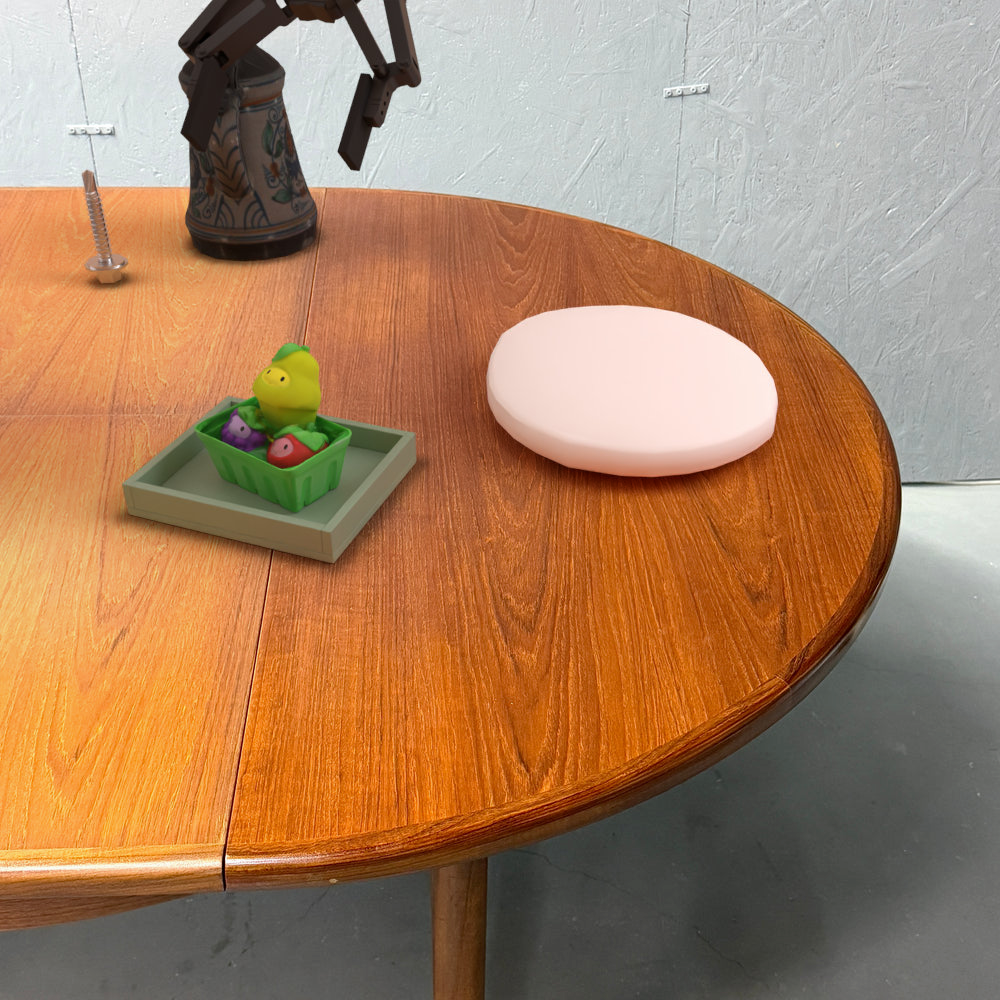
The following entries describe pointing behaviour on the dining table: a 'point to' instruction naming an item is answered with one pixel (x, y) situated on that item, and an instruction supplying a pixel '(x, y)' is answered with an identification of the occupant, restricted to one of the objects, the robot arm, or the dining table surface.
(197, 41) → the robot arm
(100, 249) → the screw
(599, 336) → the pale pink round cushion
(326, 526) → the tray
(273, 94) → the dark brown tall vessel
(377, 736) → the dining table surface
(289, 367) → the fruit basket
